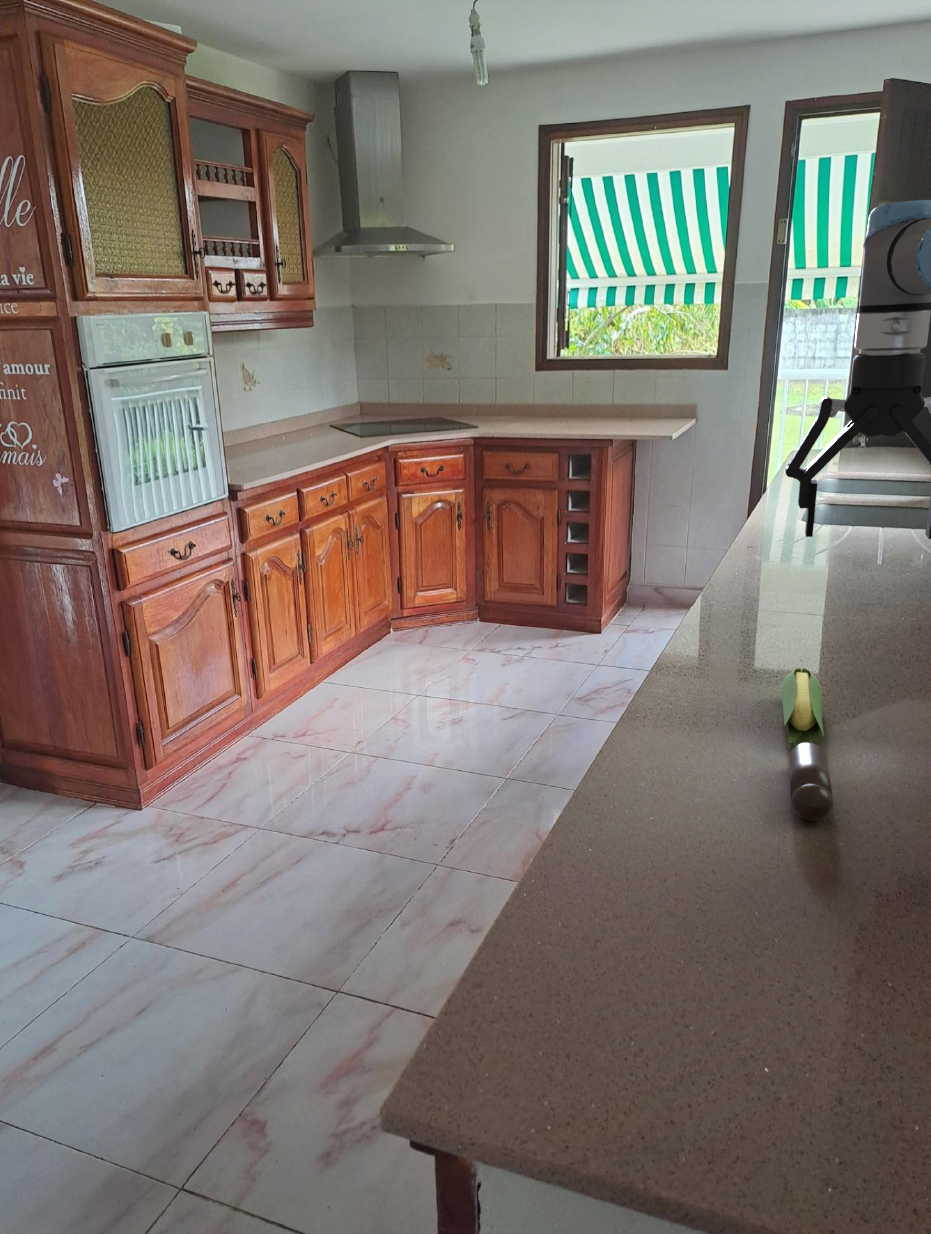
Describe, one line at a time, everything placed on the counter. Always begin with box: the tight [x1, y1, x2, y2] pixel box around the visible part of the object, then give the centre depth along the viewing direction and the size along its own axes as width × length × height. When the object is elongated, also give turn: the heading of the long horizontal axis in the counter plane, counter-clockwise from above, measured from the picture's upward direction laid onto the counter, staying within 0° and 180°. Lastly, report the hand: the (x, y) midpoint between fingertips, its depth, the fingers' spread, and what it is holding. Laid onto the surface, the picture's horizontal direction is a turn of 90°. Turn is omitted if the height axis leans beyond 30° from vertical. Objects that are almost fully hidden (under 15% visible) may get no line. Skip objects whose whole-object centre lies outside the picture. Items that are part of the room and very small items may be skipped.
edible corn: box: [779, 667, 825, 748], centre depth 121 cm, size 5×20×5 cm, turn 161°
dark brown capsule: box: [788, 742, 834, 822], centre depth 103 cm, size 14×4×4 cm, turn 162°
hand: (868, 535), depth 118 cm, fingers open, 13 cm apart
